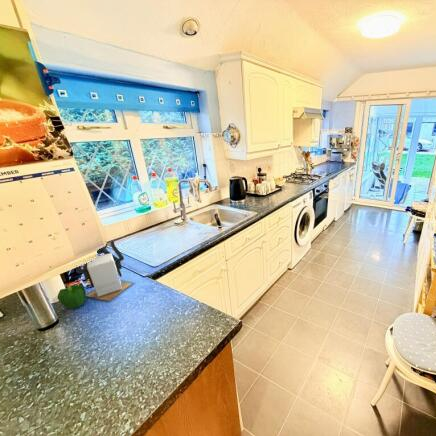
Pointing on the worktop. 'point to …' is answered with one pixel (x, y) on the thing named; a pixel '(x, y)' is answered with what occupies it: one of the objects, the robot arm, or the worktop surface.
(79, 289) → the bell pepper
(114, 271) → the white product box
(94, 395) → the worktop surface
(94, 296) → the coaster
